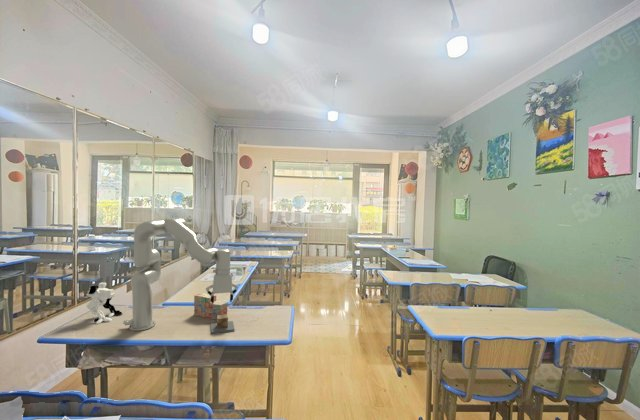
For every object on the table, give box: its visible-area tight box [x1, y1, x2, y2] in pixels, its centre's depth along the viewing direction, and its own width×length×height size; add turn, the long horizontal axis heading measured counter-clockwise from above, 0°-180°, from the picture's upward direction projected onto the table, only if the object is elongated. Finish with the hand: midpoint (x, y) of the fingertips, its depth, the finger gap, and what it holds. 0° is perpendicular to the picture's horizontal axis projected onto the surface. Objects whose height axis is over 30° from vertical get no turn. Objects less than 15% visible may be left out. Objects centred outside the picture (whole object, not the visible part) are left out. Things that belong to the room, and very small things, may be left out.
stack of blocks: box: [193, 292, 229, 320], centre depth 185 cm, size 21×6×12 cm, turn 66°
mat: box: [210, 320, 235, 335], centre depth 168 cm, size 12×12×1 cm
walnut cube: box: [216, 313, 229, 329], centre depth 168 cm, size 6×6×6 cm
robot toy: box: [86, 282, 123, 325], centre depth 179 cm, size 19×14×20 cm
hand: (221, 302), depth 167 cm, fingers open, 9 cm apart
